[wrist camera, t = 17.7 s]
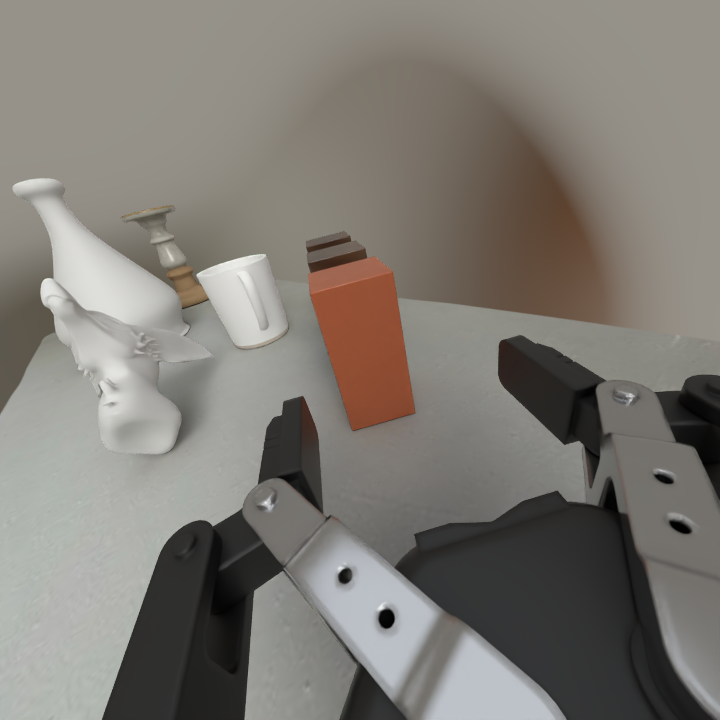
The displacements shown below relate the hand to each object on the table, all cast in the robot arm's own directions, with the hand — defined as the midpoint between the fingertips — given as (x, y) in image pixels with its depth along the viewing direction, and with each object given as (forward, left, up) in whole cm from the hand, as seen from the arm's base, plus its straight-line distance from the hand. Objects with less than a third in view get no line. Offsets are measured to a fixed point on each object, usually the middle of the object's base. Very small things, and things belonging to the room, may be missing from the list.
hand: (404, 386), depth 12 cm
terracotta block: (+1, -10, -9) cm, 13 cm away
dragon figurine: (+20, -16, -9) cm, 27 cm away
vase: (+35, -43, -9) cm, 56 cm away
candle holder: (+34, -68, -9) cm, 77 cm away
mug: (+12, -31, -9) cm, 35 cm away
